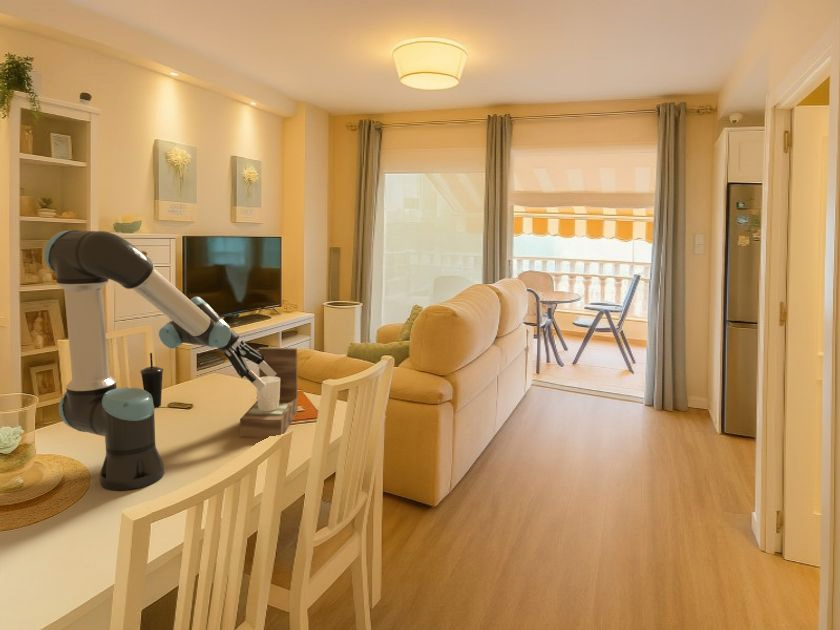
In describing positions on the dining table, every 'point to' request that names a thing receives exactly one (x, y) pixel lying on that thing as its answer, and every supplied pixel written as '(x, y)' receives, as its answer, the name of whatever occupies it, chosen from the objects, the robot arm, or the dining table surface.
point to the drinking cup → (153, 382)
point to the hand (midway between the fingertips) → (268, 381)
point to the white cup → (269, 394)
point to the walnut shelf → (280, 419)
